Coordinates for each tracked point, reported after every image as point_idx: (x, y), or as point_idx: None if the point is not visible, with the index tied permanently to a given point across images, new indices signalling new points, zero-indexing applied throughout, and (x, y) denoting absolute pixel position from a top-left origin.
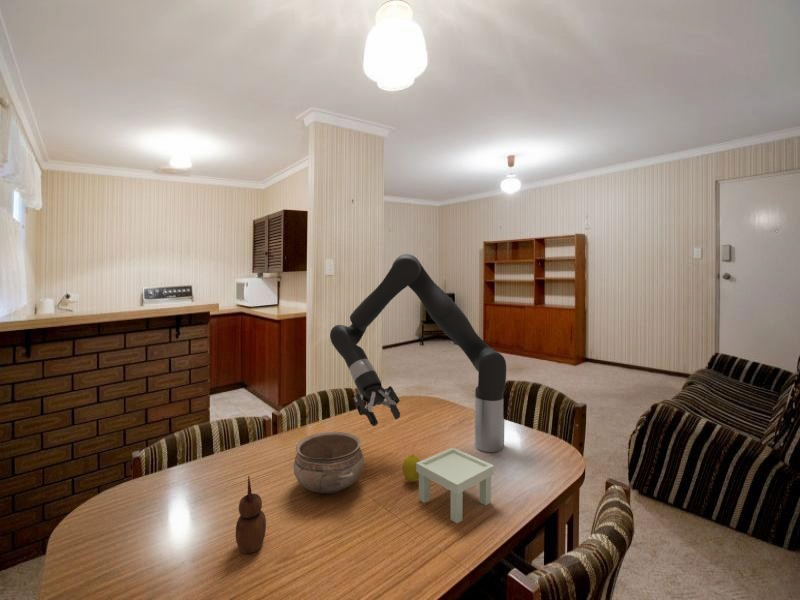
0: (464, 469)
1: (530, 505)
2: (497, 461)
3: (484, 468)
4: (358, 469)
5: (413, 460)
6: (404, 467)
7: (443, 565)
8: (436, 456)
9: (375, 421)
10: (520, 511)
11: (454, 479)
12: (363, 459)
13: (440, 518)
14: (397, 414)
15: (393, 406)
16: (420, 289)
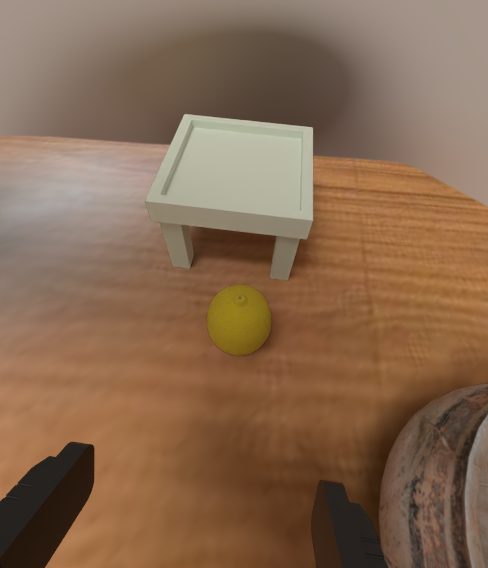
0: (232, 151)
1: (164, 154)
2: (6, 240)
3: (211, 119)
4: (457, 389)
5: (251, 290)
6: (270, 323)
7: (375, 178)
8: (234, 204)
9: (344, 494)
10: None
11: (288, 147)
12: (410, 432)
13: None
14: (80, 458)
15: (5, 552)
16: None
